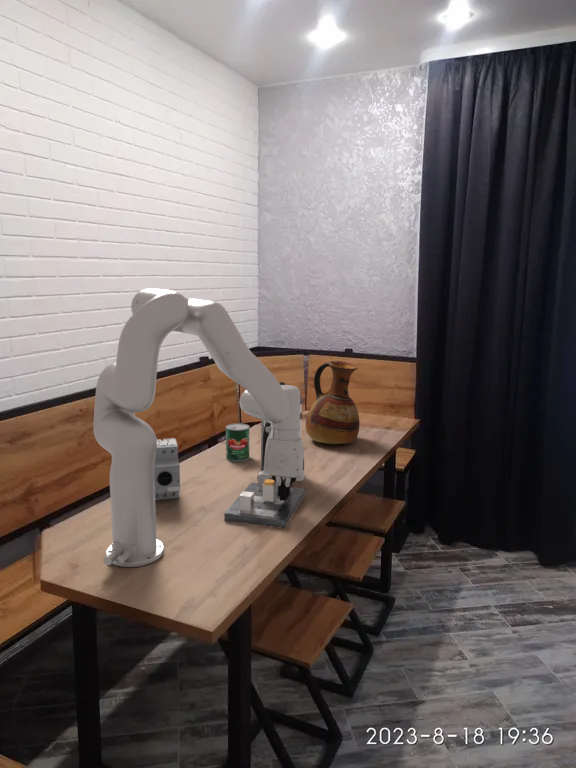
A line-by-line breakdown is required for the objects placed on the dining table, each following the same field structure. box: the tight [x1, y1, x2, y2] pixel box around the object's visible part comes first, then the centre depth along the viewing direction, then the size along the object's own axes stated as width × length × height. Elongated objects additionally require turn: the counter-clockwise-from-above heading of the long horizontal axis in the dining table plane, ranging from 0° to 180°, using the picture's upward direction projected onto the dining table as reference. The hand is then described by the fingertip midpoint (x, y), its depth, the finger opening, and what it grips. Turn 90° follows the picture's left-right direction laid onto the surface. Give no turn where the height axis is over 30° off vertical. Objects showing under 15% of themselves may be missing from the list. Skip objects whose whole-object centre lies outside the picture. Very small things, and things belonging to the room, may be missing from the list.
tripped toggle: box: [263, 478, 277, 502], centre depth 157 cm, size 3×3×5 cm
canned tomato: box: [225, 422, 250, 463], centre depth 196 cm, size 8×8×11 cm
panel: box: [223, 470, 306, 529], centre depth 157 cm, size 22×16×7 cm
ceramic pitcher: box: [304, 360, 361, 445], centre depth 214 cm, size 20×20×30 cm
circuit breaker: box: [154, 437, 181, 501], centre depth 162 cm, size 8×14×15 cm, turn 16°
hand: (284, 498), depth 156 cm, fingers closed
